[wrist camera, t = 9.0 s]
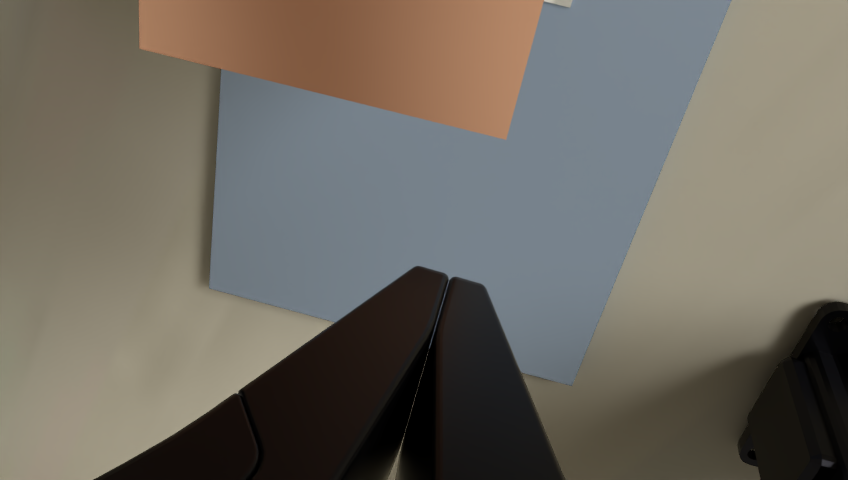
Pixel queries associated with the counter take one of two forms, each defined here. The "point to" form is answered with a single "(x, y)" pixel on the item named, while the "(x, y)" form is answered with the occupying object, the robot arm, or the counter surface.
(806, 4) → the counter surface
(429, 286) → the robot arm
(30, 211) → the counter surface
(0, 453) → the counter surface
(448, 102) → the terracotta block
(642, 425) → the counter surface
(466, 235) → the board
